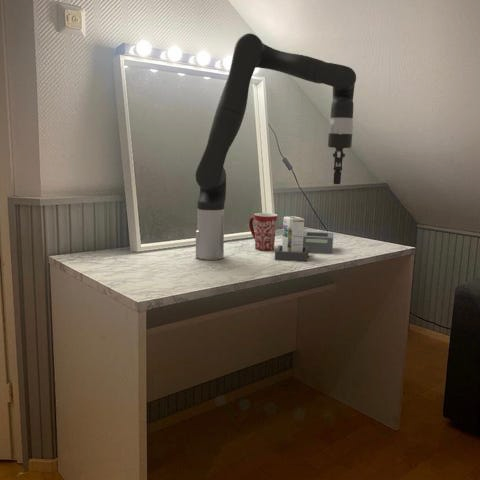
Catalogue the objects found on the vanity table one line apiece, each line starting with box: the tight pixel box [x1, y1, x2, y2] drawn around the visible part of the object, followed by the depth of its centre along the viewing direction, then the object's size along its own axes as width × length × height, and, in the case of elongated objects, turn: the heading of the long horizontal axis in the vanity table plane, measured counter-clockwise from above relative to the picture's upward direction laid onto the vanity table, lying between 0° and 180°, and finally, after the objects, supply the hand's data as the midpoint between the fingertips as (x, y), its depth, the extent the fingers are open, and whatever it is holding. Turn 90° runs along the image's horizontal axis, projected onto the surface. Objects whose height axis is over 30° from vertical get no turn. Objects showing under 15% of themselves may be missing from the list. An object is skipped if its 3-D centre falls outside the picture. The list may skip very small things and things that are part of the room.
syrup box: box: [281, 215, 305, 252], centre depth 175 cm, size 6×6×14 cm
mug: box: [248, 212, 279, 252], centre depth 190 cm, size 13×9×14 cm
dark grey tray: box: [274, 244, 309, 263], centre depth 176 cm, size 11×11×3 cm
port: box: [303, 230, 334, 255], centre depth 189 cm, size 12×12×6 cm
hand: (336, 183), depth 162 cm, fingers open, 8 cm apart
